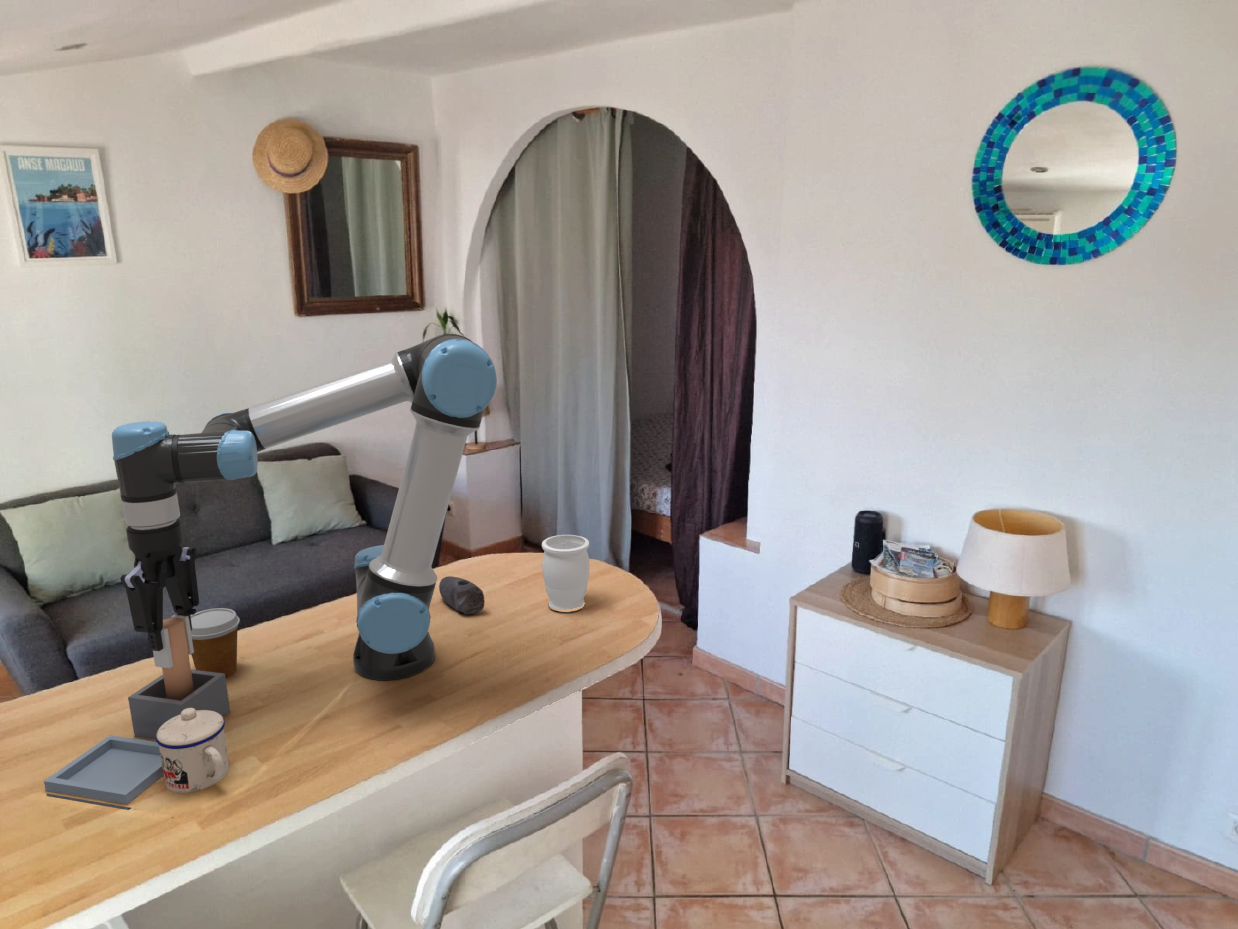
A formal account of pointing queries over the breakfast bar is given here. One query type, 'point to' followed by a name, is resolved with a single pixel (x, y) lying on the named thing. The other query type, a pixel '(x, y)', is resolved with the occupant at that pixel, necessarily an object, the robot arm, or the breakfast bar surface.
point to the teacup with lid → (193, 750)
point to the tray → (109, 772)
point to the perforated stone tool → (461, 594)
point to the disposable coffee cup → (215, 640)
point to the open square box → (176, 702)
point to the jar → (565, 570)
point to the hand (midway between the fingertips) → (175, 659)
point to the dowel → (177, 662)
